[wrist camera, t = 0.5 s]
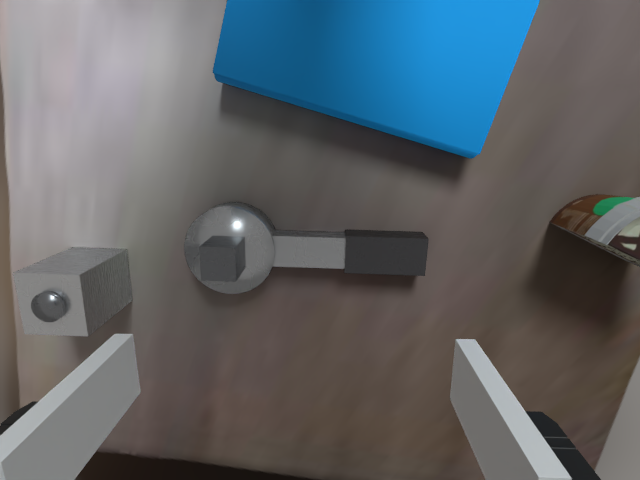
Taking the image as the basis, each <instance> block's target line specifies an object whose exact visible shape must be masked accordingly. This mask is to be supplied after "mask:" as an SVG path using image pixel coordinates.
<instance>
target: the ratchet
mask: <svg viewBox="0 0 640 480" xmlns="http://www.w3.org/2000/svg"><path fill="white" fill-rule="evenodd" d="M427 249H428V238H427V237H426V236H425V234H424V233H423V232H406V231H373V230H345V232H315V231H282V230H275V228H274V226H273V224H272V222H271V221H270V219H269V218H268V217H267V216H266V215H265V214H264V213H263V212H262V211H260V210H259V209H257V208H255V207H254V206H252V205H249V204H246V203H241V202H227V203H223V204H219V205H217V206H215V207H213V208H211V209H210V210H208V211H206V212H205V213H203V214H202V215H200V216H199V217H198V218H197V219H196V220H195V221H194V222H193V223H192V225H191V226H190V228H189V230H188V232H187V235H186V238H185V244H184V250H185V257H186V260H187V263H188V266H189V268H190V269H191V271H192V273H193V274H194V275H195V277H196V278H197V279H198V280H199V281H200V282H202V283H203V284H204V285H206V286H207V287H209V288H211V289H213V290H215V291H218V292H221V293H227V294H238V293H244V292H247V291H250V290H252V289H254V288H255V287H257V286H258V285H260V284H261V283H262V282H263V281H264V280H265V279H266V277H267V276H268V275H269V273H270V271H271V269H272V267H273V266H274V267H303V268H333V269H344V273H359V274H388V275H418V276H425V269H426V259H427Z"/></svg>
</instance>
